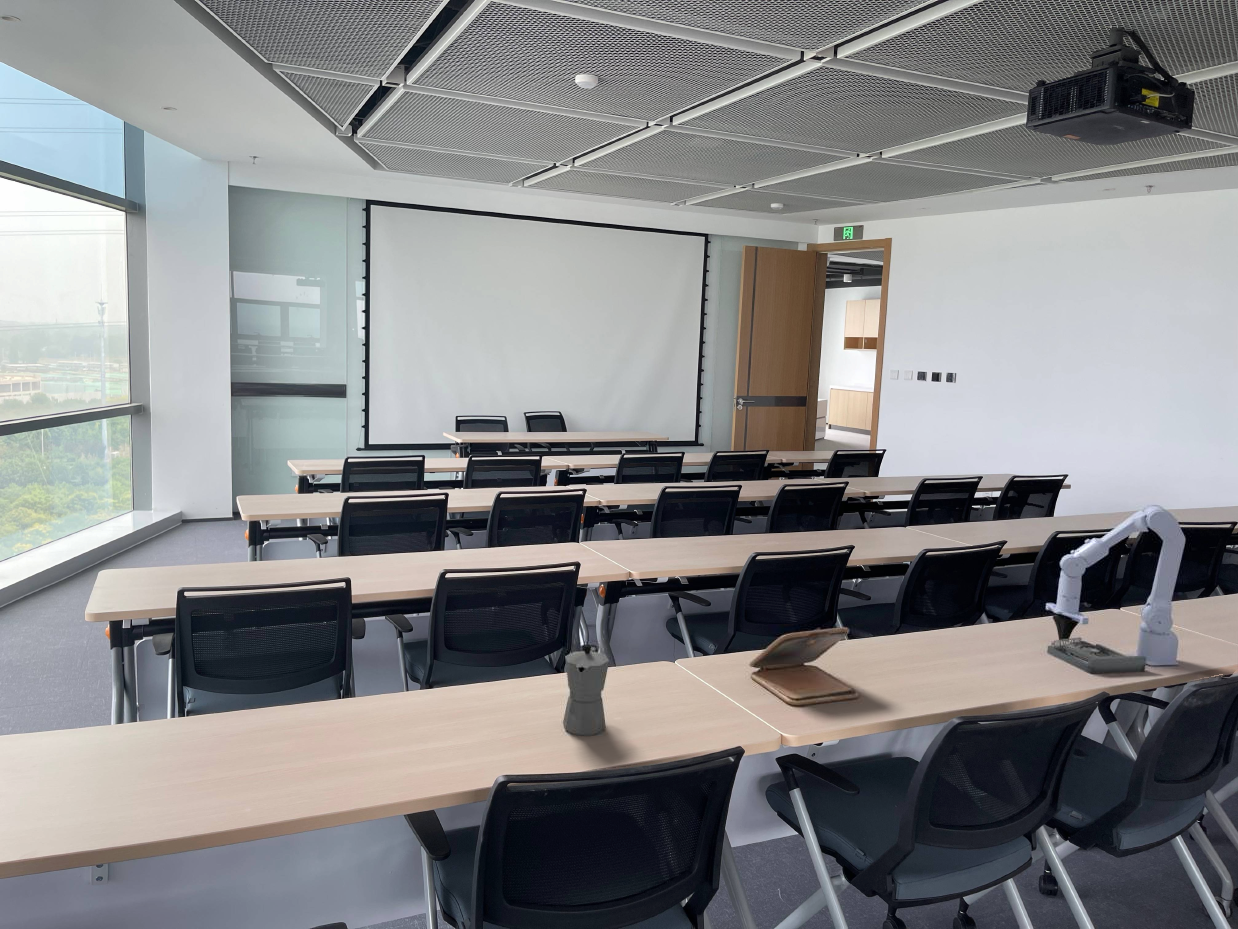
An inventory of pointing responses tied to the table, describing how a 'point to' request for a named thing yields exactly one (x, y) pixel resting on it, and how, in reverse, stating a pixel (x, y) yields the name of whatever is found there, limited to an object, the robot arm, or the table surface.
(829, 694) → the case
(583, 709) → the coffeepot
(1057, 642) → the graphics card
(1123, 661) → the mounting bracket
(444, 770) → the table surface
